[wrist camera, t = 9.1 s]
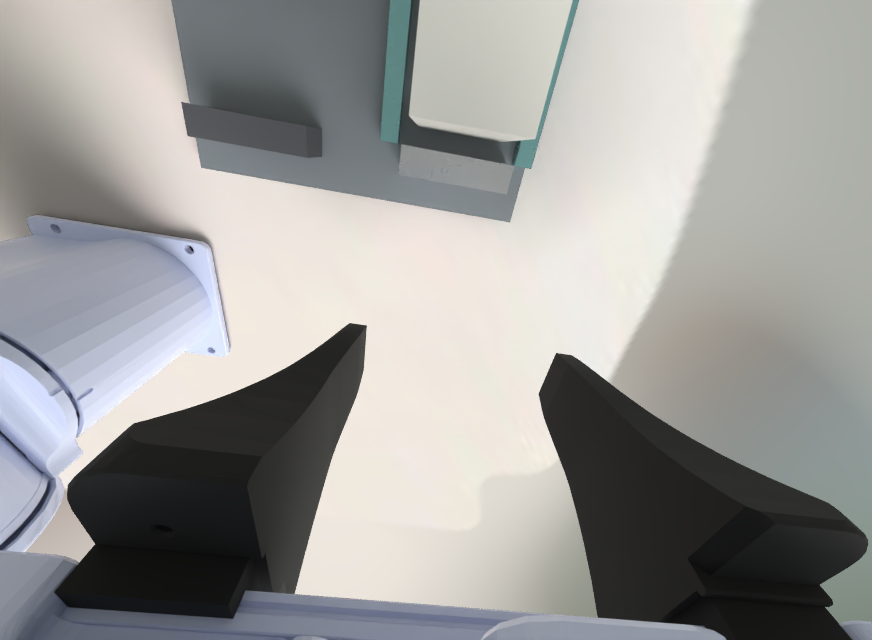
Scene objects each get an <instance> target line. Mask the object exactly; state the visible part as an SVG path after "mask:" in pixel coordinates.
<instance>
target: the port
mask: <svg viewBox="0 0 872 640" xmlns="http://www.w3.org/2000/svg"><path fill="white" fill-rule="evenodd" d="M578 2H579V0H573V1H572V5H571V9H570V12H569V16H568V20H567V24H566V27H565V31H564V35H563V38H562V42H561V46H560V49H559V53H558V57H557V61H556V64H555V68H554V72H553V75H552V79H551V83H550V87H549V90H548V94H547V98H546V101H545V105H544V109H543V112H542V116H541V120H540V124H539V127H538V131H537V135H536V138H535V139H531V140H519V141H517V145H516V149H515V153H514V156H513V160H512V164H511V165H508V164H504V163H499V162H493V161H488V160H483V159H478V158H473V157H467V156H462V155H457V154H452V153H446V152H441V151H436V150H431V149H426V148H420V147H415V146H410V145H404V144H401V154H400V164H399V174H398V175H403V176H408V177H414V178H419V179H425V180H430V181H436V182H441V183H446V184H452V185H457V186H463V187H468V188H474V189H479V190H485V191H490V192H495V193H501V194H506V195H507V192H508V188H509V184H510V180H511V176H512V172H513V168H514V166H519V167H524V168H529V169H531V167H532V164H533V160H534V157H535V153H536V150H537V146H538V143H539V139H540V136H541V132H542V129H543V125H544V122H545V118H546V114H547V111H548V107H549V104H550V100H551V97H552V93H553V90H554V86H555V83H556V79H557V76H558V72H559V69H560V65H561V62H562V58H563V55H564V51H565V48H566V44H567V41H568V37H569V34H570V30H571V27H572V23H573V20H574V16H575V13H576V9H577V6H578ZM412 9H413V0H390V10H389V24H388V38H387V53H386V67H385V81H384V95H383V109H382V123H381V138H380V140H383V141H388V142H393V143H400V133H401V123H402V112H403V102H404V92H405V81H406V71H407V61H408V50H409V40H410V30H411V20H412ZM513 165H514V166H513Z"/></svg>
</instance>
